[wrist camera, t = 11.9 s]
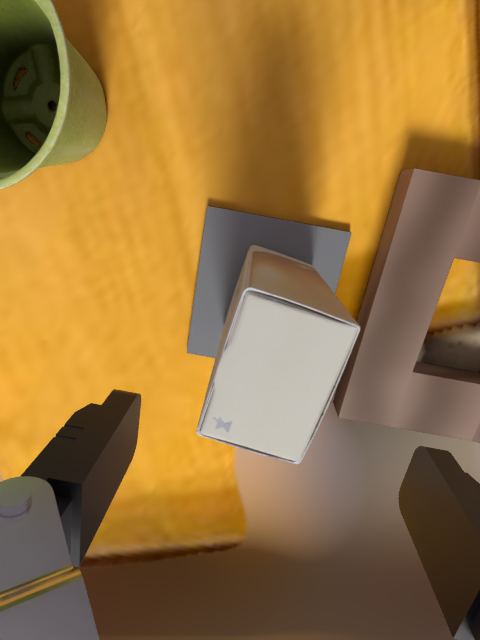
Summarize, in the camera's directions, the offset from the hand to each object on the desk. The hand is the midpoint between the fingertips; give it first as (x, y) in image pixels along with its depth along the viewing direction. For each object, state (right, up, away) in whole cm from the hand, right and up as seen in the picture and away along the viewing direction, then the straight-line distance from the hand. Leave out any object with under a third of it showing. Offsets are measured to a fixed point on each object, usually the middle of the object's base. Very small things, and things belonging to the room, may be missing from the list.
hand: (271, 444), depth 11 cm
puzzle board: (+14, +4, +14) cm, 20 cm away
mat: (+1, +5, +14) cm, 15 cm away
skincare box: (+1, +5, +14) cm, 15 cm away
